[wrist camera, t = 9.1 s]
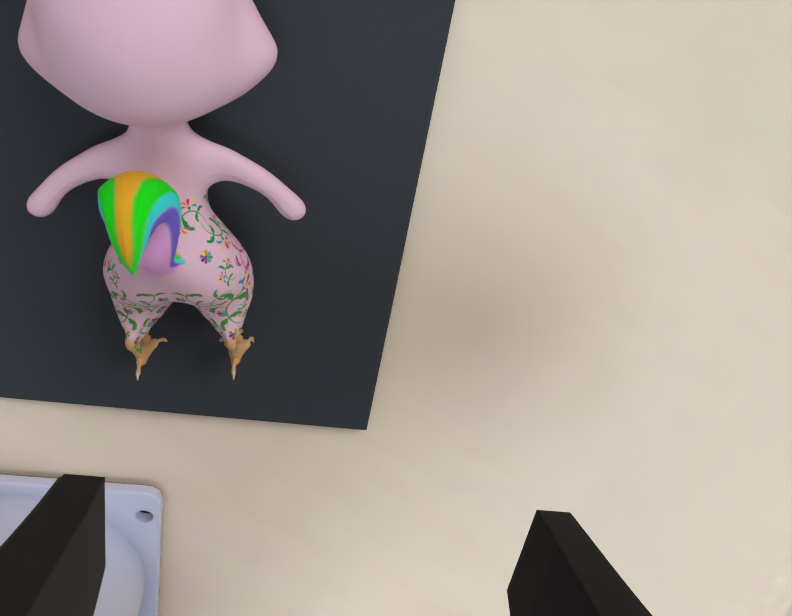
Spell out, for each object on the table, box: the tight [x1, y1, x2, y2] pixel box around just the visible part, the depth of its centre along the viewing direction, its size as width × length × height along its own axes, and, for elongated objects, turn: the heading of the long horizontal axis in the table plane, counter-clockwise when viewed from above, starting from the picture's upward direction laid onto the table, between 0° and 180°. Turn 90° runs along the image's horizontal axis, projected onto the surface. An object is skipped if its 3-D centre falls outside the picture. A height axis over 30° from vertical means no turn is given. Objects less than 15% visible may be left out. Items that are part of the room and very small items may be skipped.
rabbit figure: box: [18, 0, 306, 380], centre depth 15 cm, size 6×6×15 cm
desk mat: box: [0, 0, 455, 430], centre depth 18 cm, size 20×12×1 cm, turn 170°
